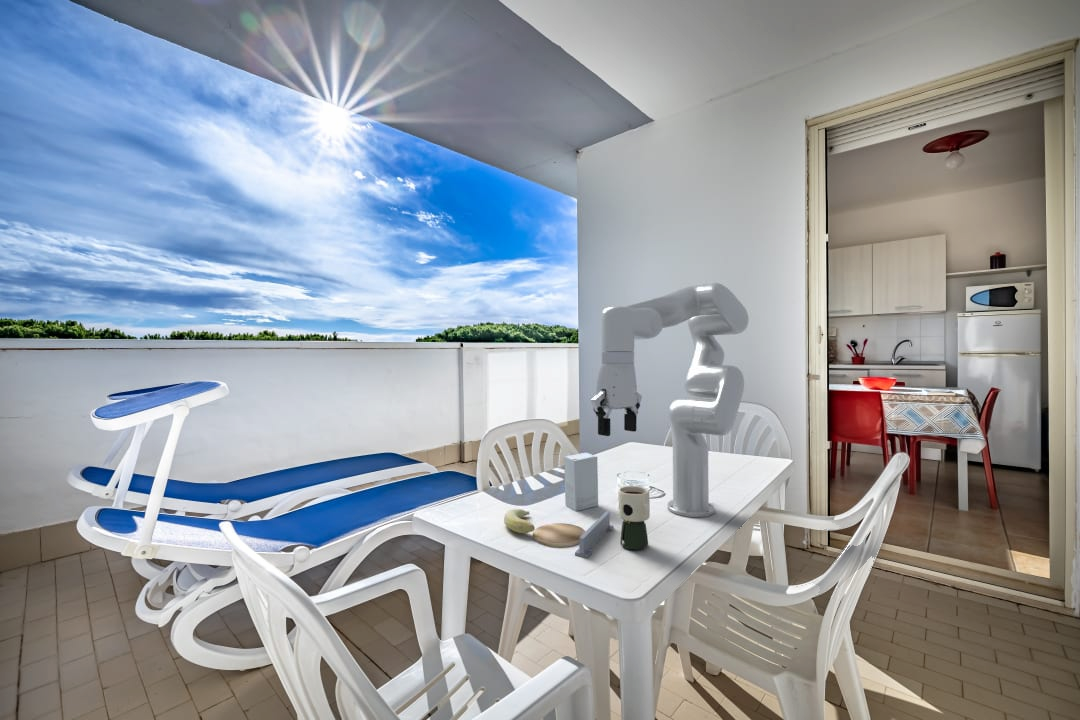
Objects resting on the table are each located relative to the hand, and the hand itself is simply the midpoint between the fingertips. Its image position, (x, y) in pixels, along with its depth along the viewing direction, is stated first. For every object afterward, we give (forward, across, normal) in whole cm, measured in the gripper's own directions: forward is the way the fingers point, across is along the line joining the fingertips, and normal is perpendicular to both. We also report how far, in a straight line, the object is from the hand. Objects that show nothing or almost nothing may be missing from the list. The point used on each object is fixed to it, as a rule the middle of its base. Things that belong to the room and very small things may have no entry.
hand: (617, 433), depth 106 cm
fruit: (+26, +10, -23) cm, 36 cm away
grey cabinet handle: (+26, +2, -4) cm, 26 cm away
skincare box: (+26, -13, -23) cm, 37 cm away
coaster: (+26, +7, -12) cm, 30 cm away
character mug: (+26, -2, +4) cm, 26 cm away
